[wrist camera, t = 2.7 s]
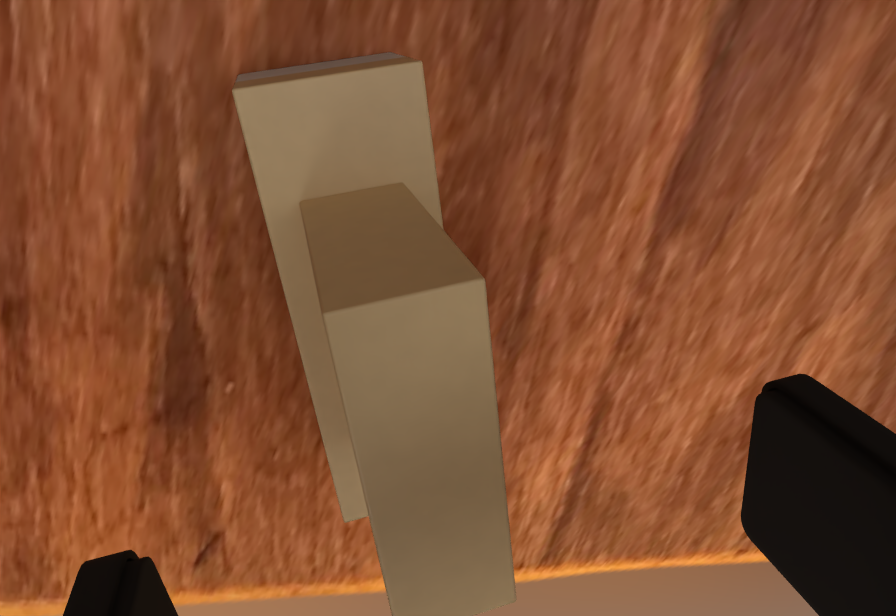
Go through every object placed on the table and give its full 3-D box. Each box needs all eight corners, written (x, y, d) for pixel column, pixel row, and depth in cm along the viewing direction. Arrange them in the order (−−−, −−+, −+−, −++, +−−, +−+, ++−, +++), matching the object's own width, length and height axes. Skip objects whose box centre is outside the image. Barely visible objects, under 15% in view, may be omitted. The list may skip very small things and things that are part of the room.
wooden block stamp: (332, 450, 21) (378, 733, 13) (237, 74, 16) (210, 142, 7) (445, 420, 22) (559, 669, 14) (392, 51, 16) (527, 89, 8)
